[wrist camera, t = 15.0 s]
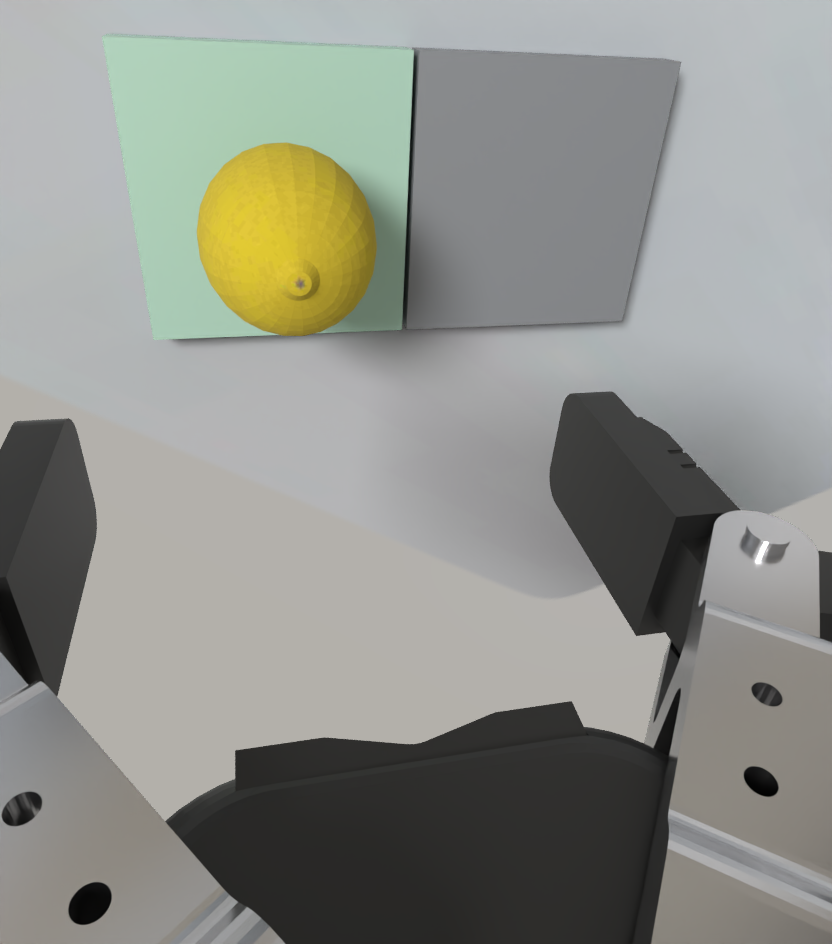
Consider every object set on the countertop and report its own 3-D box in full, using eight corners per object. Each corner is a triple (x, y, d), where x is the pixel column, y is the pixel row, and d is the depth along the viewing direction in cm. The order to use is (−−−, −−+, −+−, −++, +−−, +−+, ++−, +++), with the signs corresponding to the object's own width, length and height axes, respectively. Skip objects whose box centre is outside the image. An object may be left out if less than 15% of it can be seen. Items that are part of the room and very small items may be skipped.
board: (664, 58, 27) (681, 61, 26) (610, 310, 32) (622, 320, 31) (107, 34, 23) (102, 36, 22) (155, 327, 28) (153, 339, 27)
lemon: (368, 263, 27) (412, 351, 21) (227, 295, 27) (229, 395, 21) (338, 107, 24) (380, 156, 18) (177, 140, 24) (161, 203, 17)
